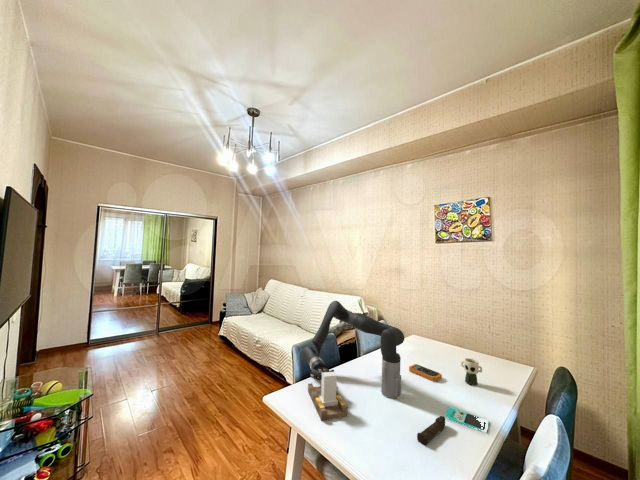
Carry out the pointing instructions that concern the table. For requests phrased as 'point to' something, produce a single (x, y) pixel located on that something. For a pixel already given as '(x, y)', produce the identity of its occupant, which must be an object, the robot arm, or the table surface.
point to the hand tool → (431, 430)
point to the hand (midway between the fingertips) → (327, 381)
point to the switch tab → (328, 389)
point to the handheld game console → (464, 418)
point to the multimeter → (425, 372)
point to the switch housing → (328, 411)
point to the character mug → (471, 370)
